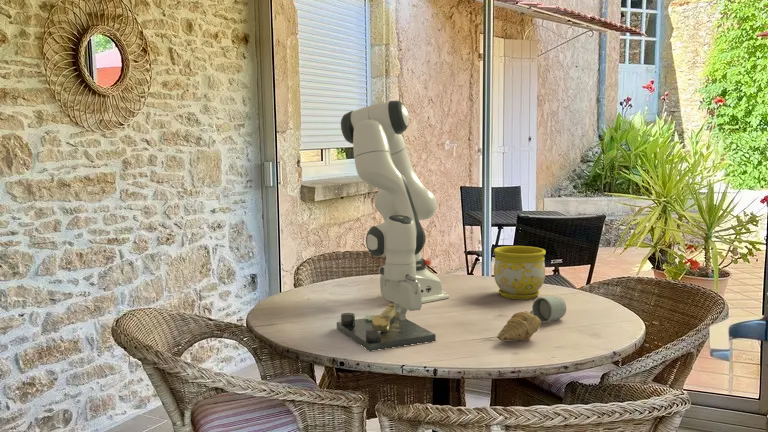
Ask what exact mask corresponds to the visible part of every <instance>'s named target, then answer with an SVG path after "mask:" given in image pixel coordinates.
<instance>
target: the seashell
mask: <svg viewBox="0 0 768 432" xmlns="http://www.w3.org/2000/svg"><path fill="white" fill-rule="evenodd" d="M541 326H542V322H541V321H540V319H539V318H538V317H537V316H534V315H533V314H531V313H530V311H528V310H526V311H525V310H524V311H520V312H515V313H513V315H512V316H511V318H510V319H508V321H506V324H505V325H504V326H503V327H502V329H501V330H500V332H499V333H498V334H497V336H496V339H498V340H499V341H501V342H503V341H504V342H507V341H520V342H524V341H526V340H527V341H528V340H529V339H530V338H532V336H533V335H534V334H535V333H537V332H538V330H539V328H540V327H541Z"/></svg>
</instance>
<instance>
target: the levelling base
mask: <svg viewBox="0 0 768 432" xmlns="http://www.w3.org/2000/svg"><path fill="white" fill-rule="evenodd" d="M375 315H376V314H375ZM375 315H374V314H369V315H365V316H364V318H358V319H356V314H355V313H353V312H343V313H341V314H340V321H336V329H337V330H338V331H340V332H341V333H343V334H344V335H345V336H346V337H348V338H349V339H351V340H352V341H354V343H357V344H358V345H359V344H360V345H359V346H361V345H362V346H363V347H362V346H361V347H362V348H364V347H365V348H366V349H365V348H364V349H365V350H367V351H368V350H369V351H370V352H373V351H372V350H377V351H379V350H378V349H383V350H386V349H385V348H390V349H393V348H392V347H396V348H399V347H398V346H403V347H405V346H404V345H409V346H412V345H411V344H416V345H418V344H417V343H422V344H426V343H425V342H429V343H433V342H432V341H435V342H436V341H437V340H436V338H437V337H436V334H435V333H434V332H432V331H430V330H428V329H426V328H424V327H422V326H421V325H419V324H417V323H415V322H413V321H412V320H409V319H408V318H406V319H405V320H400V319H398V318H396V314H395V315H394V316H393V317H392V319H391V320H390V330H389V331H387V332H381V330H380V329H377V328H372V317H373V316H375ZM369 351H368V352H369Z"/></svg>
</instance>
